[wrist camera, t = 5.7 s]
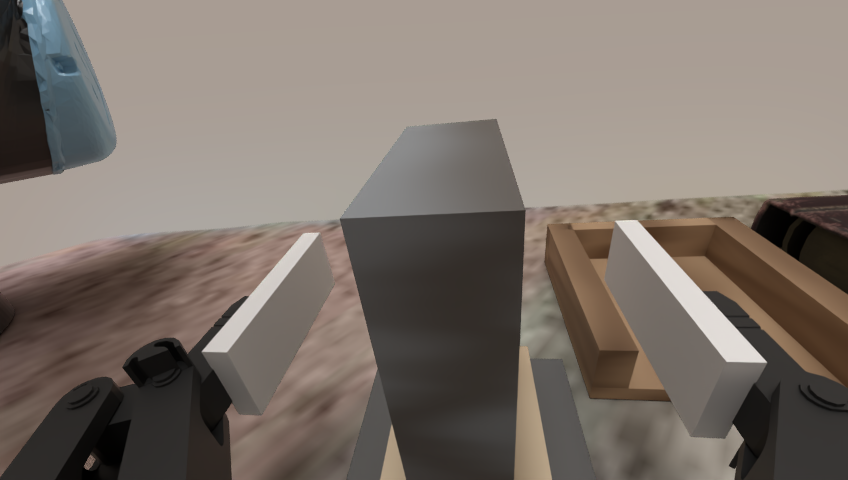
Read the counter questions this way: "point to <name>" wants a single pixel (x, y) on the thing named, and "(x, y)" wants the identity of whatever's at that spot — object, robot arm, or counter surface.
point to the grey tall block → (448, 305)
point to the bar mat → (556, 413)
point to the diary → (810, 233)
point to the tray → (711, 271)
